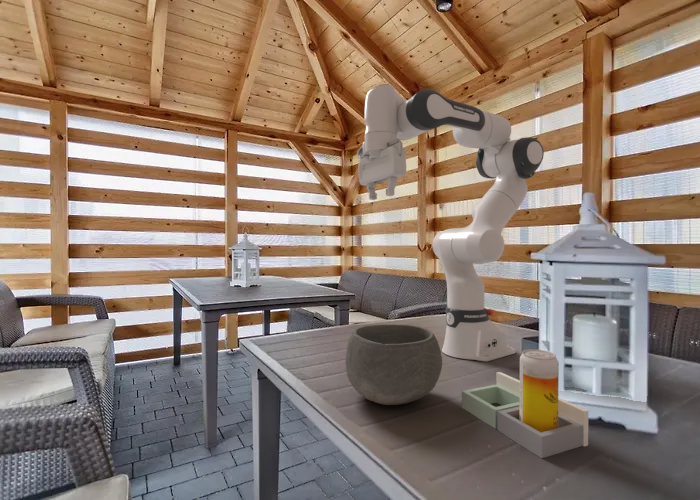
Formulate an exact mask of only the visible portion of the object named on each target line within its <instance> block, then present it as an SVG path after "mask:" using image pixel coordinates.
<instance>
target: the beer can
mask: <svg viewBox="0 0 700 500" xmlns="http://www.w3.org/2000/svg"><path fill="white" fill-rule="evenodd" d="M559 366H560V365H559V360H558V359H557V355H556V354H555V353H553V352H552V351H548V350H543V349H532V348H531V349H530V348H529V349H523V350H522V352H521V355H520V357H519V380H520V405H519V421H521V422H523V423H525V424H527V425H528V426H530V427H532V428H534V429H535V430H537V431H539V432H545V431H549V430H552V429H556V428H558V397H559V371H560V370H559Z"/></svg>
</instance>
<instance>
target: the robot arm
mask: <svg viewBox="0 0 700 500" xmlns="http://www.w3.org/2000/svg"><path fill="white" fill-rule="evenodd" d="M364 101H365V102H364V115H363V118H364V123H365V132H364V141H363V142H362V145H361V147H359V149H358V150H357V153H356V154H357V155H356V157H357V159H359V161H358V181H359V184H360V186H366V190H367V193H368V199H369V200H370V201H375V200H377V198H378V193H376V189H375V188H376V185H377V184H381V183H383V182H387V188H386V189H385V196H386V197H393V196H394V195H395V189H396V186H397V184H398V178H401V177H404V176H405V175H406V172H407V159H406V151H405V149H404V147H403V146H404V145H403V142H402V141H407V140H410V139H413V138H415V137H417V136H419V135H422V134H423V133H427V132H428V131H431V130H434V129H437V128H440V127H441V126H446V127H451V128H452V136H453V139H454V141H455V142H456V144H458V145H459V146H463V147H465V148H470V149H471V148H472V149H478V150H477V154H476V155H477V156H476V163H475V165H476V170H477V172H478V174H479V175H480V176H481V177H483V178H484V179H490V180H491V179H492V180H493V179H495V181H494V183H493V185H492V186H491V187H490V188H489V189H488V190H487V191H486V192H485V194H484V195H483V196H482V198H480V199H479V201H478V202H477V203H476V204H475V206H474V207H473V208H472V209H471V210H472V211H471V216H472V222H471V223H469V225H467V226H465V227H455V228H454V227H453V228H447V229H445V230H442V231H440V232H438V233H436V235H435V236H434V238H433V240H432V244H431V245H432V246H431V247H432V251H433V253H434V254H435V256H436V257H437V258H438V259H439V262H440V263H441V265H442V269H443V271H444V276H445V281H446V293H447V294H446V297H447V298H446V303H447V306H446V307H445V322H446V326H445V327H446V328H445V337H444V341H443V344H442V345H443V346H442V349H441V353H444V355H446V356H450V357H453V358H456V359H457V358H458V359H463V360H473V361H475V360H476V361H480V362H489V361H493V360H494V361H495V360H497V359H500V358H501V359H502V358H503V357H504V358H505V357H507V356H510V355H514V354H516V349H514V348H513V347H512V346H509V345H508V342H507V341H508V339H507V336H506V335H507V334H505V332H504V331H503V330H502V329H501V328H500V327H499V326H497V325H496V324H495V323H494V322H492V321H491V320H490V317H489V316H491V317H495V316H496V313H497V312H496V309H491V308H488V309H487V308H485V283H484V281H483V279H482V278H481V277H480V276H479V275H478V274H477V272H476V269H475V267H474V264H475V265H483V264H488V263H493V262H497V261H498V260H499V259H500V258H501V257H502V256H503V253H504V251H505V240H504V237H503V235H502V232H503V230H504V228H505V227H506V226H507V224H508V223H509V222H510V220H511V219H512V217H513V216H514V215H515V213H516V212H517V210H518V209H519V208H520V206H521V205H522V203H524V200H525V198H526V195H527V193H528V185H527V182H526V179H530V178H532V177H533V176H535V173H536V171H537V170H538V168H540V165H541V163H542V161H543V159H544V154H545V153H544V148H543V147H544V146H543V145H542V143H541V142H540V141H539V140H538V139H537V138H535V137H521V138H518V139H513V140H512V139H511V135H512V125H511V123H510V121H509V120H508V119H507V118H506V117H503V116H502V115H498V114H496V113H492V112H490V111H485V110H481V109H480V108H478V107H476V106H473V105H469V104H466V103H463V102H459V101H456V100H452V99H450V98H447V97H446V96H444V95H443V94H441V93H440V92H439V91H436V90H434V89H432V88H423V89H420V90H419V91H418V92H416V93H415V94H414V95H413V96H411V98H409V99H405V98H403V97H402V96H401V95H400V94H399V93H398V92H397V91H396V89H395V87H394V86H393V84H388V83H386V84H379V85H375V86H374V87H372V88H371V89H369V91H367V93H366V96H365V99H364Z"/></svg>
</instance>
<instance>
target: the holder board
mask: <svg viewBox="0 0 700 500" xmlns="http://www.w3.org/2000/svg"><path fill="white" fill-rule="evenodd" d="M495 373H496V376H495V379H496V380H495V381H496V383H495V384H491V385H488V386H481V387H476V388H475V387H474V388H471V389H465V390H461V408H462V409H463V410H465V411H467V412H468V413H470V414H471V415H473V416H474V417H476V418H477V419H479V420H480V421H482V422H483V423H485V424H487V425H489V426H490V427H491V428H493V429H495V430H496V429H497V430H496V431H498V432H499V433H501V434H502V435H504V436H506V437H507V438H508V439H510V440H512V441H514V442H515V443H516V444H518V445H519V446H522V447H523V448H524V449H525V450H527V451H529V452H530V453H532V454H534V455H535V456H537V457H539V458H540V459H545V458H548V457H550V456H554V455H558V454H561V453H564V452H567V451H570V450H573V449H577V448H579V447H580V448H581V447H588V446H589V410H588V409H585V408H583V406H582V407H581V406H579V405H577V404H574V403H572V402H570V401H567V400H566V399H563V398H561V397H559V396H558V428H556V429H552V430H549V431H545V432H539V431H537V430H535V429H534V428H532V427H530V426H528V425H527V424H525V423H523V422H521V421H519V405H520V379H517V378H515V377H513V376H511V375H508V374H505V373H504V372H501V371H498V372H495ZM493 404H499V406H494V405H493Z"/></svg>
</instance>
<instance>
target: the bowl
mask: <svg viewBox="0 0 700 500" xmlns="http://www.w3.org/2000/svg"><path fill="white" fill-rule="evenodd" d="M442 368H443V356H442V350H441V348H440V344H439V341H438V339H437V338H436V336H435V334H434V333H433V331H432V330H431V329H429V328H426V327H422V326H419V325H412V324H398V323H397V324H393V323H392V324H391V323H390V324H389V323H388V324H387V323H386V324H369V325H368V324H367V325H361V326H359V327H357V328H355V329H354V330H353V331H352V332H351V335H350V337H349V340H348V342H347V346H346V352H345V371H346V376H347V378H348V381H349V383H350V384H351V387H352V388H353V389H354V390H355V391H356V392H357V393H358V394H359V395H361V396H362V397H363V398H365V399H366V400H368V401H371V402H374V403H377V404H379V405H383V406H384V405H385V406H394V405H395V406H396V405H397V406H398V405H406V404H409V403H411V402H412V403H413V402H414V401H417V400H419V399H422V398H423V397H425V396H427V395H428V394H429V393H431V391H433V389H434V388H435V387H436V386H437V383H438V381H439V378H440V375H441V373H442Z"/></svg>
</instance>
